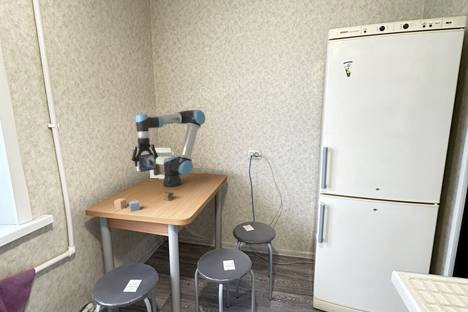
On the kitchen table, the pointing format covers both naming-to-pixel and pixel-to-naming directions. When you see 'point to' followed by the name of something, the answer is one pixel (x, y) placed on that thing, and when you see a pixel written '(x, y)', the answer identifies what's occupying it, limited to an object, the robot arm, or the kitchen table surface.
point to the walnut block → (168, 196)
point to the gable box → (160, 160)
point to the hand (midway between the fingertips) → (146, 169)
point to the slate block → (134, 206)
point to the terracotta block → (120, 203)
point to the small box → (146, 162)
